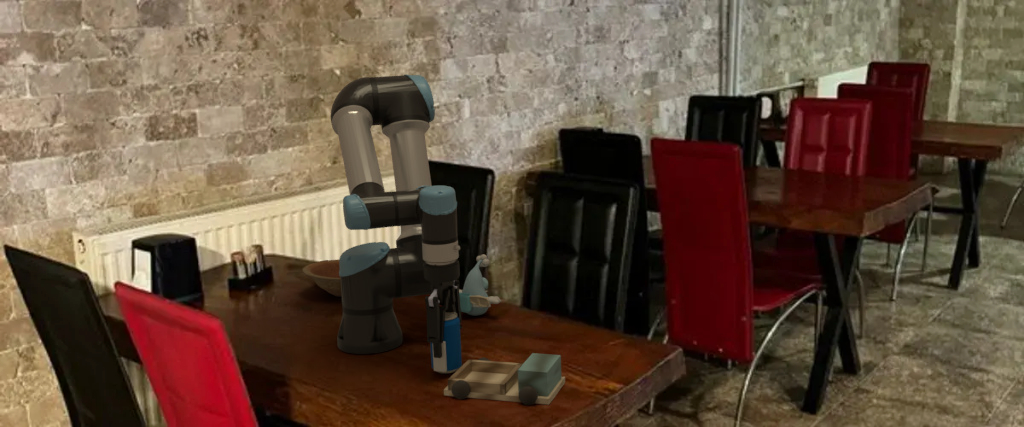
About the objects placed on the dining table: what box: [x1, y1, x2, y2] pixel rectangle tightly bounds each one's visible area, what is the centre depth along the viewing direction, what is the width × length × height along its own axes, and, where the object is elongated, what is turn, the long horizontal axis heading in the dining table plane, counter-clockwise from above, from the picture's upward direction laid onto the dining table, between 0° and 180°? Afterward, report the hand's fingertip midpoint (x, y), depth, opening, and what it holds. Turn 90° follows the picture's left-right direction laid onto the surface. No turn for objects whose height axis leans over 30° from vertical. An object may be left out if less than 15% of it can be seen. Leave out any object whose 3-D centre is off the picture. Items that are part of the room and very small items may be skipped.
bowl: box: [302, 259, 342, 298], centre depth 276 cm, size 24×24×8 cm
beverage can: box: [429, 312, 463, 374], centre depth 212 cm, size 6×6×12 cm
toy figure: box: [459, 254, 502, 317], centre depth 251 cm, size 17×10×15 cm, turn 50°
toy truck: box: [443, 352, 566, 406], centre depth 202 cm, size 22×14×6 cm, turn 72°
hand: (446, 364), depth 213 cm, fingers closed on beverage can, 6 cm apart
